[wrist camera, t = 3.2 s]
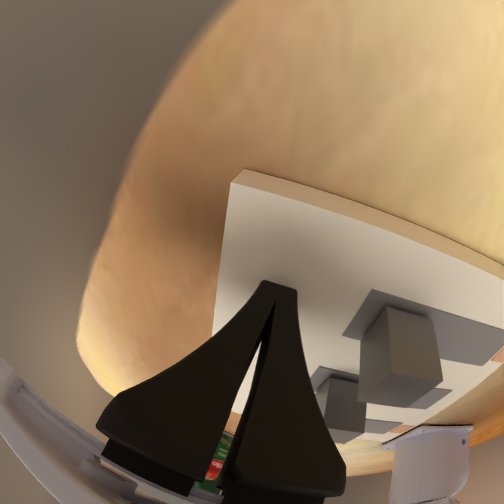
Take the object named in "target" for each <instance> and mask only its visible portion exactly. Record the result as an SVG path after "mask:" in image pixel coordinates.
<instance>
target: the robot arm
mask: <svg viewBox="0 0 504 504" xmlns="http://www.w3.org/2000/svg"><path fill="white" fill-rule="evenodd" d="M260 343H261V345H260ZM259 345H260V349H259V354H258V358H257V362H256V367H255V371H254V375H253V380H252V384H251V388H250V392H249V395H248V399H247V401H246V404H245V407H244V410H243V413H242V416H241V418H240V421H239V424H238V427H237V429H236V432H235V435H234V437H233V440H232V443H231V445H230V448H229V450H228V453H227V456H226V458H225V461H224V463H223V466H222V468H221V471H220V473H219V475H218V478H217V480H216V483H215V485H214V488H215V489H218V490H222V494H221V495H219V494H215V493H212V492H209V491H206V490H203V489H200V488H197V487H194V485H195V482H196V481H197V482H200V483H203V482H204V479H205V477H206V474H207V472H208V470H209V467H210V465H211V462H212V460H213V457H214V454H215V452H216V449H217V447H218V444H219V442H220V439H221V436H222V434H223V431H224V429H225V426H226V423H227V421H228V418H229V415H230V413H231V410H232V407H233V404H234V402H235V399H236V396H237V394H238V391H239V389H240V386H241V384H242V382H243V380H244V378H245V376H246V374H247V371H248V369H249V367H250V365H251V363H252V360H253V358H254V356H255V354H256V352H257V349H258V347H259ZM96 428H97V429H98V430H99V431H100V432H102V433H103V434H105V435H106V436H107V437H108V438H109V440H108V442H107V444H105V443H103V442H101V441H100V440H98V439H97V438H95V437H94V436H92V435H91V434H89V433H88V432H86V431H85V430H83V429H82V428H80V427H79V426H78V425H76V424H75V423H74V422H72V421H71V420H69V419H68V418H67V417H65V416H64V415H63V414H62V413H60V412H59V411H58V410H56V409H55V408H54V407H53V406H52V405H50V404H49V403H48V402H47V401H46V400H44V399H43V398H42V397H41V396H40V395H39V394H38V393H37V392H36V391H35V390H34V389H33V388H32V387H31V386H30V385H29V384H27V383H26V382H25V381H24V380H23V379H22V378H21V377H20V376H19V375H18V374H17V373H16V372H15V371H14V370H13V368H12V367H10V365H9V364H8V363H7V362H6V361H5V360H4V359H3V358H2V357H1V356H0V433H1V435H2V436H3V438H4V439H5V441H6V442H7V443H8V445H9V446H10V447H11V449H12V450H13V451H14V453H15V454H16V455H17V456H18V458H19V459H20V460H21V461H22V463H23V464H24V465H25V466H26V467H27V469H29V471H30V472H31V473H32V474H33V475H34V477H35V478H37V480H38V481H39V482H40V483H41V484H42V485H43V486H44V487H45V488H46V489H47V490H48V491H49V492H50V493H51V494H52V495H53V496H54V497H55V498H56V499H57V500H58V501H59V502H60V503H62V504H168V503H166V502H163V501H160V500H158V499H156V498H153V497H151V496H148V495H146V494H144V493H142V492H140V491H137V490H136V488H137V486H138V485H137V483H136V482H134V481H133V480H131V479H129V478H128V477H126V476H124V475H123V474H121V473H119V472H118V471H116V470H114V469H112V468H110V467H107V466H105V465H103V464H101V462H100V458H101V459H102V460H104V461H105V462H107V463H109V464H110V465H112V466H114V467H116V468H117V469H119V470H121V471H123V472H125V473H127V474H128V475H130V476H132V477H134V478H136V479H138V480H140V481H142V482H144V483H146V484H148V485H150V486H152V487H155V488H157V489H159V490H161V491H164V492H166V493H168V494H171V495H173V496H176V497H179V498H181V499H184V500H186V501H189V502H192V503H195V504H323V503H324V499H325V497H336V496H341V495H342V494H343V493H344V490H345V484H346V465H345V463H344V461H343V459H342V457H341V455H340V453H339V451H338V449H337V447H336V445H335V443H334V441H333V439H332V437H331V435H330V432H329V430H328V428H327V426H326V423H325V420H324V418H323V415H322V413H321V410H320V407H319V405H318V402H317V399H316V396H315V393H314V390H313V387H312V383H311V380H310V376H309V373H308V369H307V364H306V360H305V355H304V351H303V345H302V339H301V333H300V326H299V317H298V292H297V290H296V289H293V288H290V287H287V286H283V285H280V284H277V283H274V282H271V281H268V280H262V281H261V282H260V284H259V286H258V287H257V289H256V291H255V292H254V293H253V295H252V296H251V297H250V299H249V300H248V301H247V302H246V303H245V305H244V306H243V307H242V308H241V309H240V310H239V311H238V312H237V313H236V315H235V316H234V317H233V318H232V319H231V320H230V321H229V322H228V323H227V324H226V325H224V326H223V327H222V328H221V329H220V330H219V331H218V332H217V333H216V334H215V335H214V336H212V337H211V338H210V339H209V340H208V341H206V342H205V343H204V344H203V345H201V346H200V347H199V348H198V349H196V350H195V351H193V352H192V353H191V354H189V355H188V356H186V357H185V358H184V359H182V360H181V361H179V362H178V363H176V364H174V365H173V366H171V367H169V368H168V369H166V370H164V371H163V372H161V373H159V374H157V375H156V376H154V377H152V378H150V379H148V380H146V381H144V382H142V383H140V384H138V385H136V386H133V387H131V388H129V389H127V390H125V391H122V392H120V393H119V394H117V395H116V396H115V397H114V399H113V400H112V401H111V402H110V403H109V404H108V406H107V407H106V408H105V409H104V411H103V413H102V415H101V416H100V418H99V420H98V422H97V424H96ZM473 429H474V426H420V427H418V428H416V429H414V430H412V431H410V432H408V433H406V434H405V435H403V436H401V437H399V438H397V439H395V440H392V441H390V442H388V443H386V444H384V445H382V446H381V449H387V450H395V452H394V463H393V472H392V480H391V488H390V494H389V500H388V504H460V502H459V501H457V499H453V500H451V497H450V496H452V495H454V494H456V493H457V492H459V491H460V490H461V489H462V488H463V486H464V485H465V483H466V481H467V479H468V475H469V466H470V446H469V431H471V430H473ZM446 497H450V498H446ZM442 498H445V499H442ZM438 499H441V500H438ZM433 500H436V501H433Z"/></svg>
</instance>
